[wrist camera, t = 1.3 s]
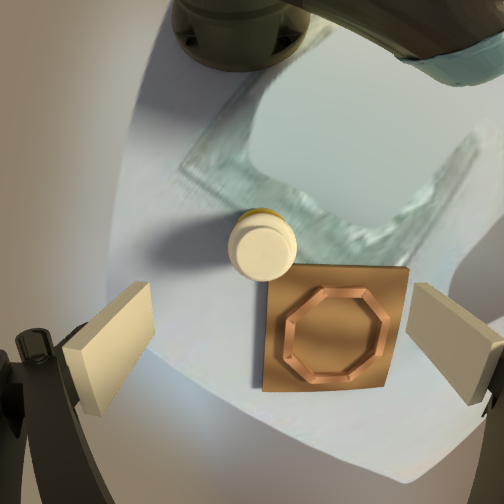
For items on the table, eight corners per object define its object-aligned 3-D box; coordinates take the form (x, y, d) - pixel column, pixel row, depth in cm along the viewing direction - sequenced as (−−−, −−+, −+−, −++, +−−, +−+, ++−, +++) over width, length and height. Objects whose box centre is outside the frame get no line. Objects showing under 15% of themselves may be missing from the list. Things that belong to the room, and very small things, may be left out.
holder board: (269, 262, 33) (270, 267, 31) (405, 266, 33) (413, 271, 31) (262, 386, 36) (262, 396, 34) (380, 381, 36) (386, 390, 34)
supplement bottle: (225, 220, 32) (211, 235, 22) (274, 198, 31) (282, 203, 21) (247, 268, 33) (243, 302, 23) (295, 247, 32) (312, 273, 22)
